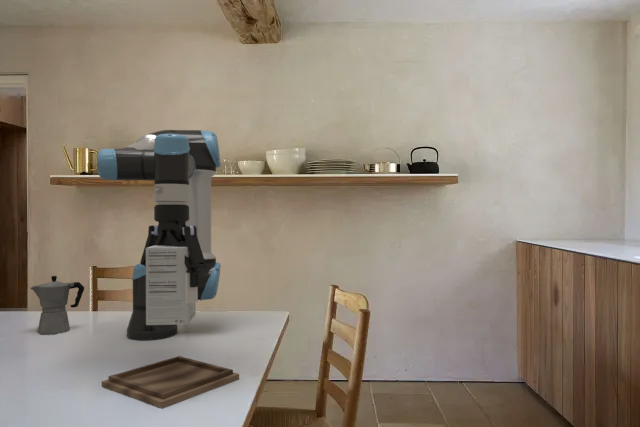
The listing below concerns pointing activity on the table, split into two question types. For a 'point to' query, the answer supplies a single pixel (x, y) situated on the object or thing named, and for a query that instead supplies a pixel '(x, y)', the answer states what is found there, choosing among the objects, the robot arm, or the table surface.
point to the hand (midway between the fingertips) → (171, 299)
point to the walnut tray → (169, 381)
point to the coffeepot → (55, 305)
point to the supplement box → (167, 286)
